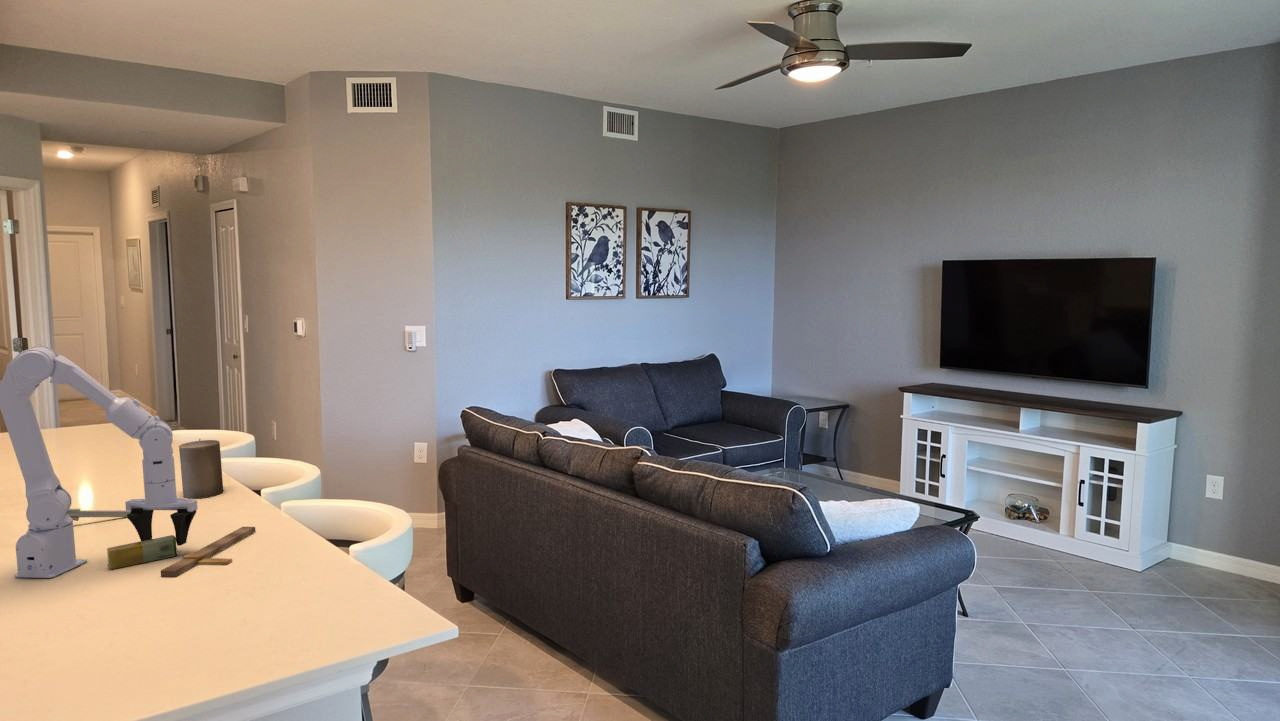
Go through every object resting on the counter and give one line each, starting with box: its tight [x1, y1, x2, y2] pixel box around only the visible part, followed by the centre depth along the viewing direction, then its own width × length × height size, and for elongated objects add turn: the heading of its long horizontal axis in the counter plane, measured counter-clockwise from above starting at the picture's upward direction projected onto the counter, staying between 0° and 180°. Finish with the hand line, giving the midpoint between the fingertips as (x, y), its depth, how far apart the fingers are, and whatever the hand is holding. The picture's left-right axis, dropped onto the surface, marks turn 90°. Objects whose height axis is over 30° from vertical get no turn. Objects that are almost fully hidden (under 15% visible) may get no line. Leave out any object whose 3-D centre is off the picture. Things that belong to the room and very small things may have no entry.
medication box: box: [106, 534, 178, 570], centre depth 169 cm, size 12×3×4 cm, turn 131°
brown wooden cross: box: [160, 526, 256, 578], centre depth 174 cm, size 28×9×2 cm, turn 175°
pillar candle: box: [178, 438, 225, 499], centre depth 221 cm, size 10×10×15 cm
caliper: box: [66, 508, 131, 522], centre depth 197 cm, size 20×1×6 cm, turn 128°
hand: (164, 543), depth 174 cm, fingers open, 7 cm apart
